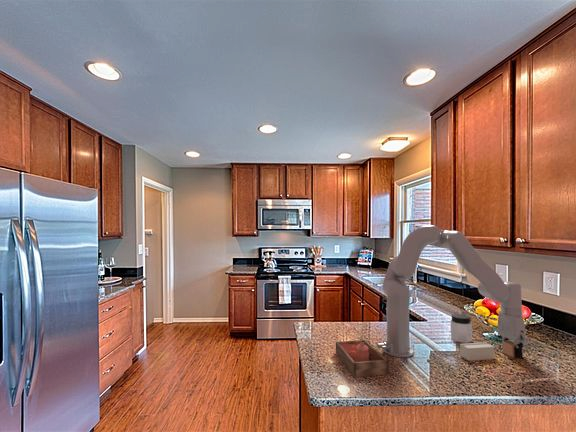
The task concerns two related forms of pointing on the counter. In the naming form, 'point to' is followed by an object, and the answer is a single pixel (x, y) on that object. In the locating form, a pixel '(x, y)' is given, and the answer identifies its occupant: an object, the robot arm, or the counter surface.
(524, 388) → the counter surface
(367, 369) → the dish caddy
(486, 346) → the beige box
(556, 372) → the counter surface
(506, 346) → the stub
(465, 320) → the jar
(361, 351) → the pottery
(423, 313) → the counter surface
